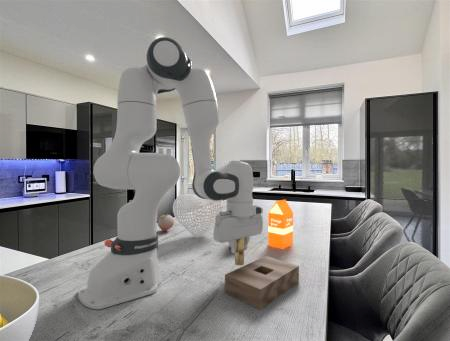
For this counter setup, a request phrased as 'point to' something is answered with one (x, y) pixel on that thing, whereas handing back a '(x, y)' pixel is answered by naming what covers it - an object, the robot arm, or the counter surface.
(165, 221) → the decorative fruit
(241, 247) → the peg
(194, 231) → the heart
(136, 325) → the counter surface
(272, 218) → the orange juice
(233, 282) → the hole block
